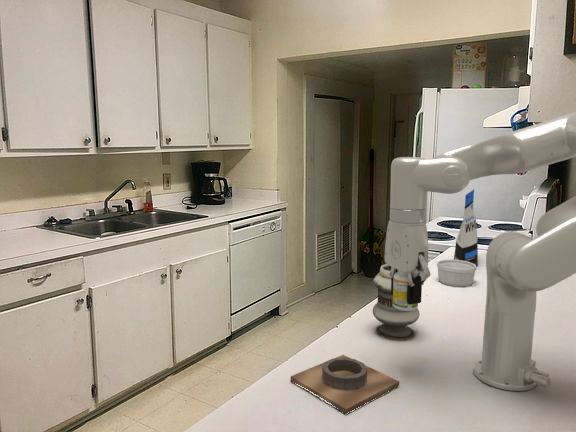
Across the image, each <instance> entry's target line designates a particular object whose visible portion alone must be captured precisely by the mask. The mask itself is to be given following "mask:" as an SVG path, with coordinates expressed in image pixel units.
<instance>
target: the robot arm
mask: <svg viewBox="0 0 576 432" xmlns="http://www.w3.org/2000/svg"><path fill="white" fill-rule="evenodd" d="M575 157H576V111H574V112H571V113H567V114H564V115H561V116H557V117H554V118H552V119H548V120H545V121H542V122H539V123H536V124H533V125H530V126H526V127H523V128H519V129H516V130H513V131H510V132H506V133H504V134H501V135H497V136H495V137H492V138H490V139H486V140H483V141H480V142H476V143H473V144H469V145H466V146H462V147H459V148H456V149H453V150H450V151H447V152H444V153H441V154H438V155H435V156H433V157H432V158H424V157H421V156H420V157H419V156H403V157H402V156H400V157H396V158H394V159H393V160H392V162H391V165H390V192H389V193H390V195H389V196H390V197H389V198H390V199H389V201H390V202H389V203H390V204H389V220H388V224H387V228H386V232H385V233H386V234H385V244H384V247H385V248H384V263H385V264H388V265H389V269H390V276H391V277H393V278H391V295H393V279H394V274H395V273H396V272H398V270H400V271H402V272H405V273H408V278H409V286H407V304H409V305H410V304H417V303H418V304H421V303H422V290H423V289H422V287H423V286H424V284H425V282H426V280H428V278H430V276H431V275H432V274H431V271H430V268H429V237H428V236H429V235H428V227H427V216H428V192H430V193H437V194H443V195H444V194H446V195H447V194H448V195H452V194H453V195H454V194H458V193H459V192H462V191H463V190H464V189H466V188H467V186H468V185H469V184H470V181H473V180H475V179H480V178H485V177H489V176H491V177H492V176H498V175H516V174H523V173H527V172H530V171H531V172H532V171H534V170H537V169H541V168H542V167H546V166H549V165H552V164H555V163H559V162H563V161H566V160H570V159H573V158H575ZM535 228H536V235H537V236H536V237H535V238H531V237H529V236H527V235H526V234H524V233H520V232H517V231H506V232H503V233H500V234H498V235H497V236H495V237H494V238H493V239H492V240H491V242H489V244H488V246H487V250H486V255H485V256H486V257H485V264H486V265H485V267H486V270H485V271H486V296H485V297H486V298H485V310H484V322H483V323H484V324H483V336H482V337H483V338H482V350H481V359H480V360H478V361H476V362H475V363H474V365H473V374H474V375H475V377H476V378H477V379H479V381H481V382H483V383H485V384H486V385H489V386H491V387H494V388H497V389H501V390H504V391H505V390H506V391H513V392H522V391H529V390H531V389H534V388H536V386H537V385H539V386H542V387H545V388H548V387H549V386H550V385H551V378H550V377H549V376H550V375H549V373H548V372H545V371H543V370H540V369H538V368H537V367H536V363H537V362H536V361H535V360H533V359H532V354H533V353H532V351H533V341H534V329H535V317H536V311H537V309H536V308H537V292H540V291H543V290H546V289H549V288H550V287H552V286H556V284H559V283H560V282H562V281H564V280H567V279H568V278H570V277H572V276H573V275H575V274H576V195H575V196H573V197H571V198H569V199H568V200H566V201H564V202H562V203H561V204H559V205H556V206H555V207H553V208H552V209H550V210H548V211H547V212H545V213H544V214H542V215H541V216H540V218H539V219H538V221H537V224H536V227H535ZM415 268H416V271H414V270H415ZM397 269H398V270H397ZM413 274H417V276H416V277H415V278H414V276H413Z"/></svg>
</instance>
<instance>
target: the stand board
mask: <svg viewBox="0 0 576 432" xmlns="http://www.w3.org/2000/svg"><path fill="white" fill-rule="evenodd" d="M291 381H292V382H294V383H296V384H298V385H300V386H302V387H304V388H306V389H308V390H309V391H311V392H313V393H314V394H316V395H318V396H319V397H321V398H323V399H324V400H326V401H327V402H329V403H331V404H332V405H333V406H335V407H336V408H338V409H339V410H340V411H342V412H343V413H345V414H347V413H348V412H350V411H352V410H354V409H356V408H358V407H360V406H362V405H364V404H365V403H367V402H369V401H371V400H373V399H375V398H377V397H379V396H381V395H383V394H384V395H386V394H388V393H389V392H388V391H390V392H392V391H393V390H392V389H394V388H396V389H398V388H399V387H400V380H397V379H396V378H393V377H391V376H390V375H388V374H385V373H383V372H381V371H378V370H377V369H375V368H373V367H370V366H368V365H365V363H364V362H362V361H359V360H357V359H355V358H352V357H350V356H347V355H345V354H341V355H338V356H336V357H334V358H331V359H328V360H325V361H324V362H322V363H320V364H319V363H318V364H317V365H314V366H312V367H309V368H308V369H305V370H302V371H300V372H297V373H295V374H293V375H290V382H291ZM292 382H291V383H292ZM294 383H293V384H294ZM296 384H295V385H296ZM398 386H399V387H398ZM397 387H398V388H397ZM391 390H392V391H391ZM394 390H395V389H394ZM387 392H388V393H387ZM385 393H386V394H385ZM384 395H383V396H384ZM381 397H382V396H381ZM379 398H380V397H379ZM377 399H378V398H377ZM375 400H376V399H375ZM373 401H374V400H373ZM371 402H372V401H371ZM369 403H370V402H369ZM364 406H365V405H364ZM362 407H363V406H362ZM360 408H361V407H360ZM358 409H359V408H358ZM339 410H338V411H339ZM356 410H357V409H356ZM340 411H339V412H340ZM354 411H355V410H354ZM342 412H341V413H342ZM343 413H342V414H343ZM345 414H344V415H345ZM347 415H348V414H347Z"/></svg>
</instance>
